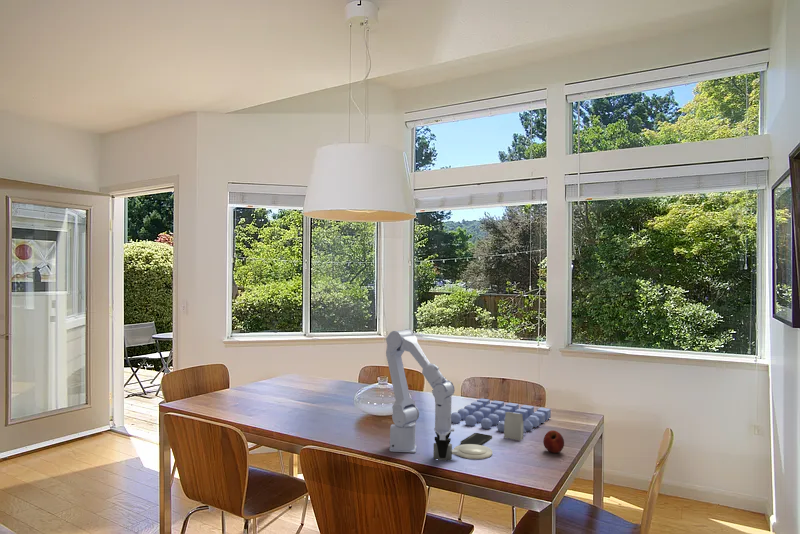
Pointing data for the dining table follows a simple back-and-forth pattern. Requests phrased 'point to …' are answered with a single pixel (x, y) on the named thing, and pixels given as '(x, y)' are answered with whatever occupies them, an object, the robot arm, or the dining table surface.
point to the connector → (448, 455)
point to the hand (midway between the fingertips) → (442, 454)
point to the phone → (477, 439)
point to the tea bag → (513, 426)
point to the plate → (473, 451)
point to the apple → (553, 441)
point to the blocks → (499, 414)
